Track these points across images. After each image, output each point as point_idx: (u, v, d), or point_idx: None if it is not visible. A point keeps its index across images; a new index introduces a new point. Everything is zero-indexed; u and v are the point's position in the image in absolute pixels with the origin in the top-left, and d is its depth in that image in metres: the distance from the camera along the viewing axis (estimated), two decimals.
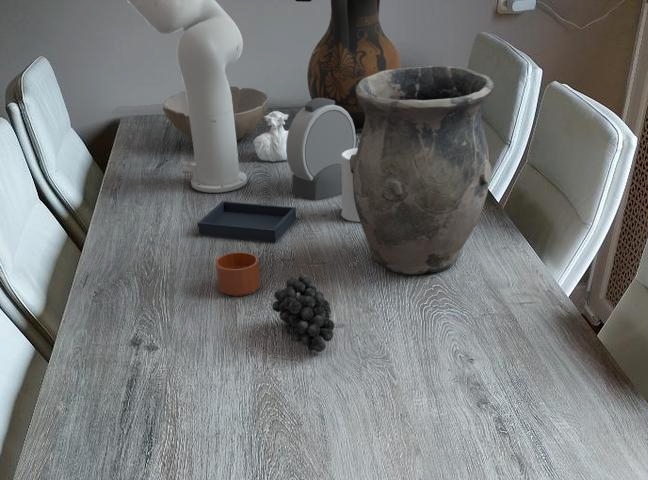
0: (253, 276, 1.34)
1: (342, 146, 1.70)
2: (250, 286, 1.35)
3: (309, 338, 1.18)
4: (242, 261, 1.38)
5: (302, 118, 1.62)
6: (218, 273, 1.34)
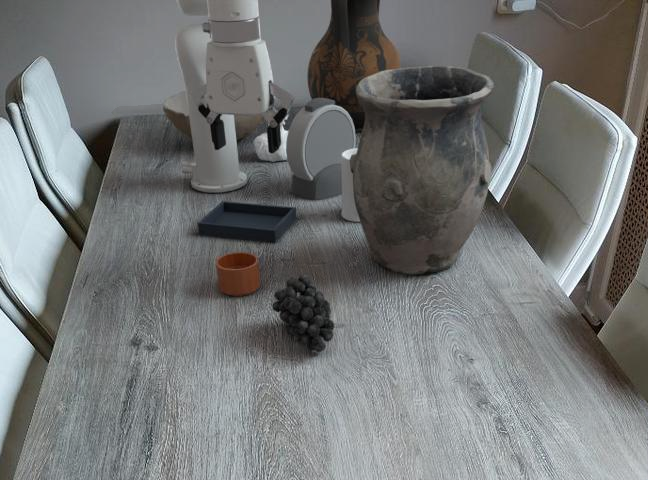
0: (253, 276, 1.34)
1: (342, 146, 1.70)
2: (250, 286, 1.35)
3: (309, 338, 1.18)
4: (242, 261, 1.38)
5: (302, 118, 1.62)
6: (218, 273, 1.34)
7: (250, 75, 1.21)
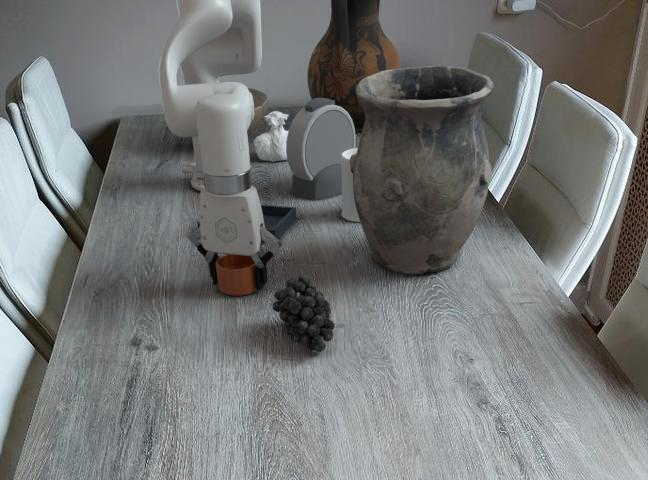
0: (253, 276, 1.34)
1: (342, 146, 1.70)
2: (250, 286, 1.35)
3: (309, 338, 1.18)
4: (242, 261, 1.38)
5: (302, 118, 1.62)
6: (218, 273, 1.34)
7: (242, 222, 1.27)
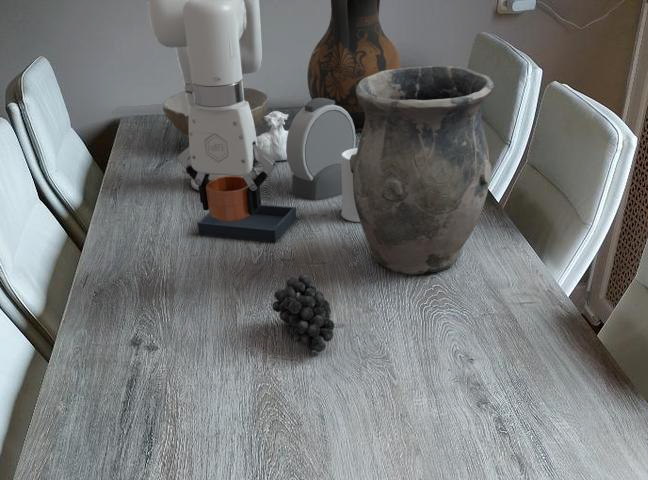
0: (246, 200, 1.27)
1: (342, 146, 1.70)
2: (242, 211, 1.27)
3: (309, 338, 1.18)
4: (234, 186, 1.31)
5: (302, 118, 1.62)
6: (209, 196, 1.27)
7: (234, 138, 1.20)
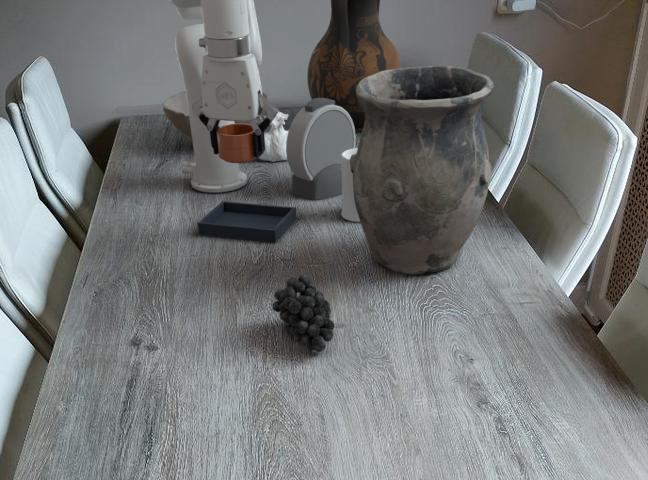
0: (251, 143, 1.43)
1: (342, 146, 1.70)
2: (249, 153, 1.44)
3: (309, 338, 1.18)
4: (241, 133, 1.48)
5: (302, 118, 1.62)
6: (219, 140, 1.43)
7: (241, 86, 1.36)
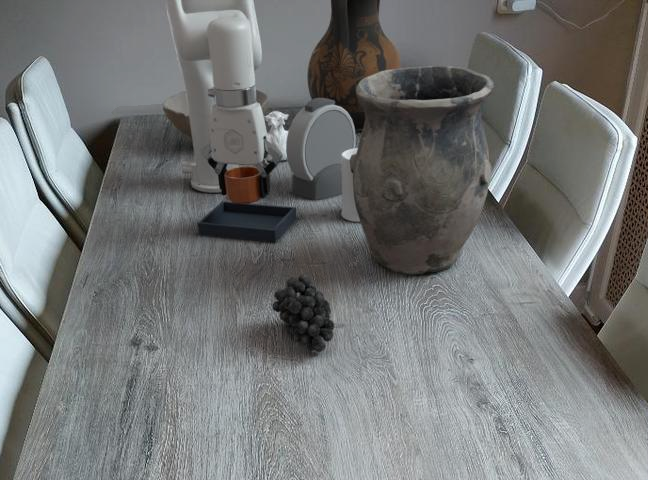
0: (257, 185, 1.52)
1: (342, 146, 1.70)
2: (255, 194, 1.52)
3: (309, 338, 1.18)
4: (247, 175, 1.56)
5: (302, 118, 1.62)
6: (226, 182, 1.52)
7: (248, 133, 1.45)
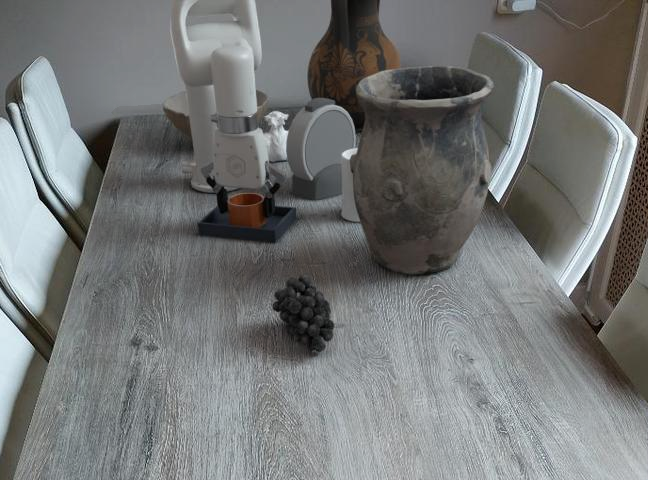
0: (260, 212, 1.55)
1: (342, 146, 1.70)
2: (257, 221, 1.56)
3: (309, 338, 1.18)
4: (250, 201, 1.59)
5: (302, 118, 1.62)
6: (229, 209, 1.55)
7: (250, 158, 1.48)
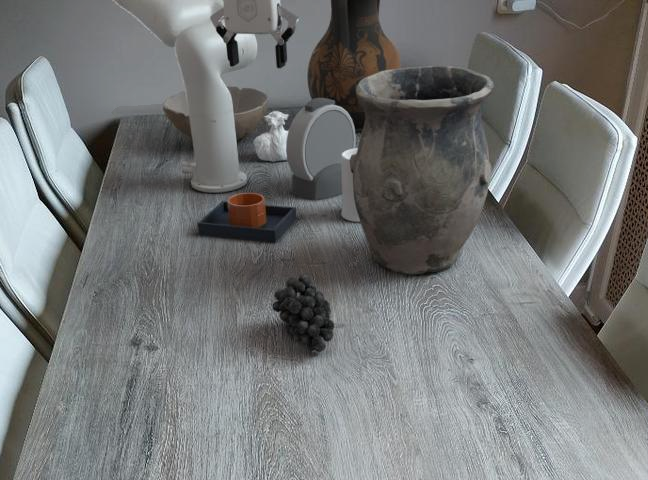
0: (260, 212, 1.55)
1: (342, 146, 1.70)
2: (257, 221, 1.56)
3: (309, 338, 1.18)
4: (250, 201, 1.59)
5: (302, 118, 1.62)
6: (229, 209, 1.55)
7: None
